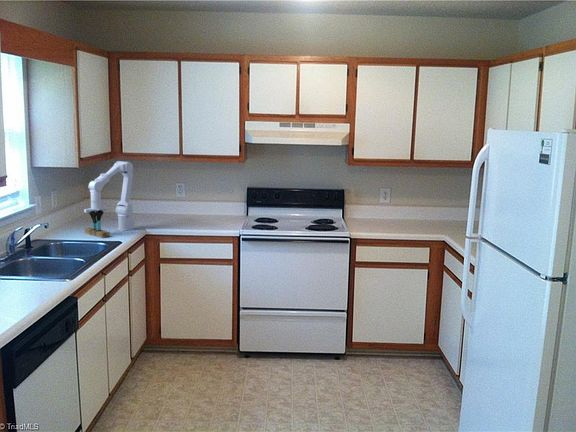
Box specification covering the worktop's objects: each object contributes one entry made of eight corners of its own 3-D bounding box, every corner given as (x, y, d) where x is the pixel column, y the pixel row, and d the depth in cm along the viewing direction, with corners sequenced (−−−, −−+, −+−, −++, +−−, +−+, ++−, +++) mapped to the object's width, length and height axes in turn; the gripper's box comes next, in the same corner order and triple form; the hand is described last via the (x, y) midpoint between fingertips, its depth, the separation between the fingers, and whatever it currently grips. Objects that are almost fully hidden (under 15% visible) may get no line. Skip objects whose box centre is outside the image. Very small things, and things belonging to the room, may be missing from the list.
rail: (91, 231, 326) (91, 227, 326) (109, 236, 314) (109, 232, 314) (84, 233, 323) (84, 228, 322) (102, 238, 310) (102, 233, 310)
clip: (92, 229, 319) (91, 219, 318) (95, 228, 321) (94, 219, 320) (98, 230, 315) (97, 220, 314) (101, 230, 316) (100, 220, 316)
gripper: (88, 202, 307) (88, 225, 309) (110, 200, 318) (110, 222, 320) (81, 201, 311) (82, 223, 313) (103, 199, 322) (104, 220, 325)
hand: (96, 223), depth 317 cm, fingers closed on clip, 2 cm apart
